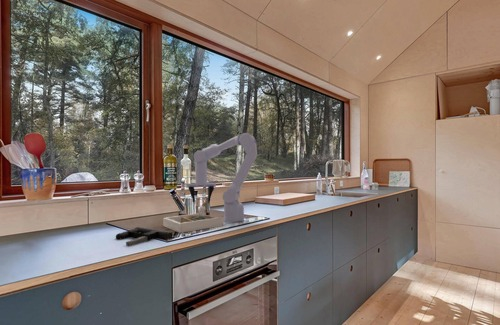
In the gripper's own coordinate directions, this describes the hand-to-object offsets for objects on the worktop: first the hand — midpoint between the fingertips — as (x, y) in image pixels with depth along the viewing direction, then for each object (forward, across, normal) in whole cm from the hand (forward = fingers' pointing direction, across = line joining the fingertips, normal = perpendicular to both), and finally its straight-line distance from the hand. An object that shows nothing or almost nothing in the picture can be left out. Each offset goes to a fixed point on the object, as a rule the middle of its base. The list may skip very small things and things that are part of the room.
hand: (201, 201), depth 145 cm
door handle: (+10, -28, -28) cm, 41 cm away
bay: (+9, -6, -13) cm, 17 cm away
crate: (+9, -2, -12) cm, 15 cm away
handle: (+8, -2, -12) cm, 14 cm away
